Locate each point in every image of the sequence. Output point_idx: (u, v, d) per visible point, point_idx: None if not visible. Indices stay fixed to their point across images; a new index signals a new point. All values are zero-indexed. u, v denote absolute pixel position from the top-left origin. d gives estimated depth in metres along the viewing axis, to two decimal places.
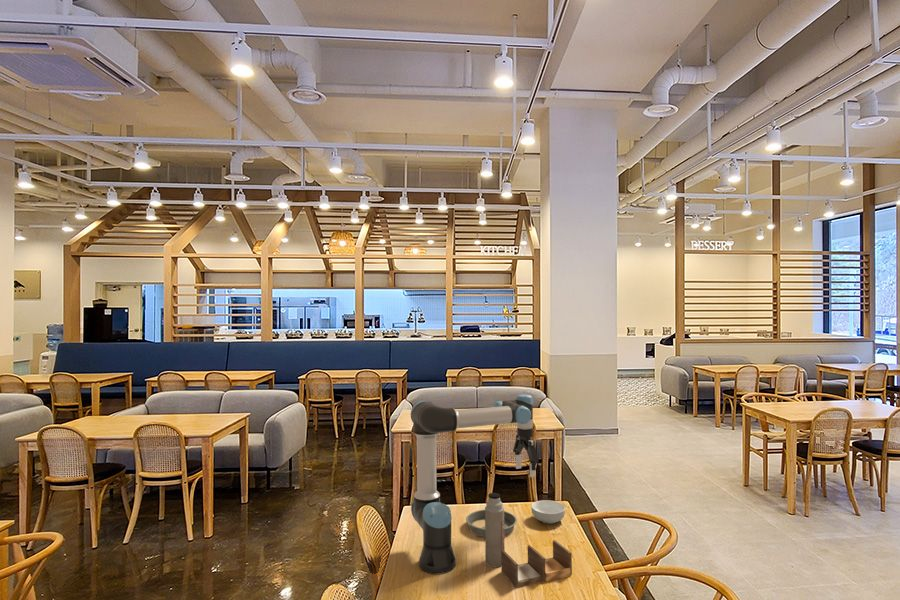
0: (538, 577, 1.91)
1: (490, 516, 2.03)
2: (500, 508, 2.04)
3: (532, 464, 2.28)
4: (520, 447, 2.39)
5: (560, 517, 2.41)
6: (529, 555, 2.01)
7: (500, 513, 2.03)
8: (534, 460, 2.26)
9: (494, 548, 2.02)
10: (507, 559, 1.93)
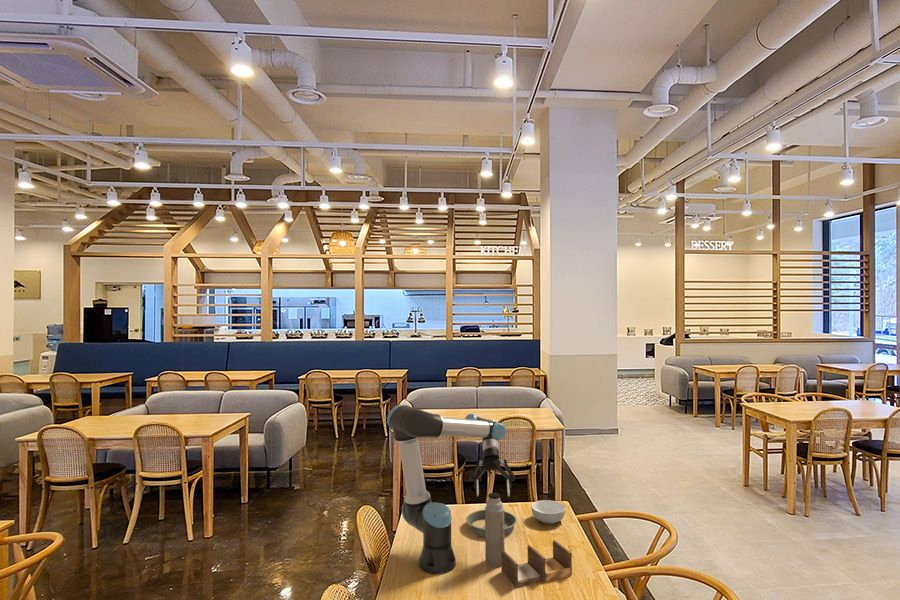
0: (538, 577, 1.91)
1: (490, 516, 2.03)
2: (500, 508, 2.04)
3: (510, 481, 2.21)
4: (483, 471, 2.25)
5: (560, 517, 2.41)
6: (529, 555, 2.01)
7: (500, 513, 2.03)
8: (514, 476, 2.23)
9: (494, 548, 2.02)
10: (507, 559, 1.93)
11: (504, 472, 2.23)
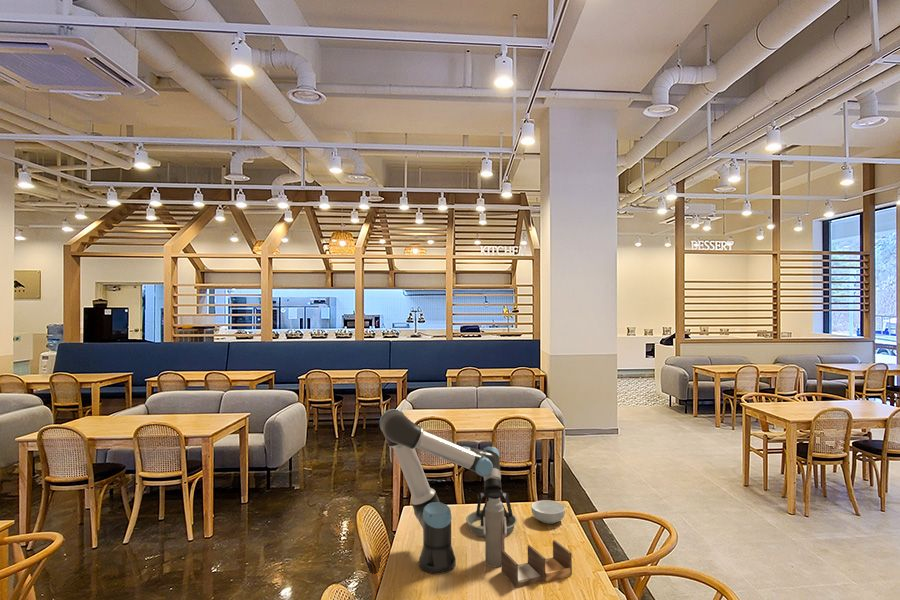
0: (538, 577, 1.91)
1: (490, 516, 2.03)
2: (500, 508, 2.04)
3: (507, 518, 2.07)
4: None
5: (560, 517, 2.41)
6: (529, 555, 2.01)
7: (500, 513, 2.03)
8: (511, 512, 2.08)
9: (494, 548, 2.02)
10: (507, 559, 1.93)
11: None
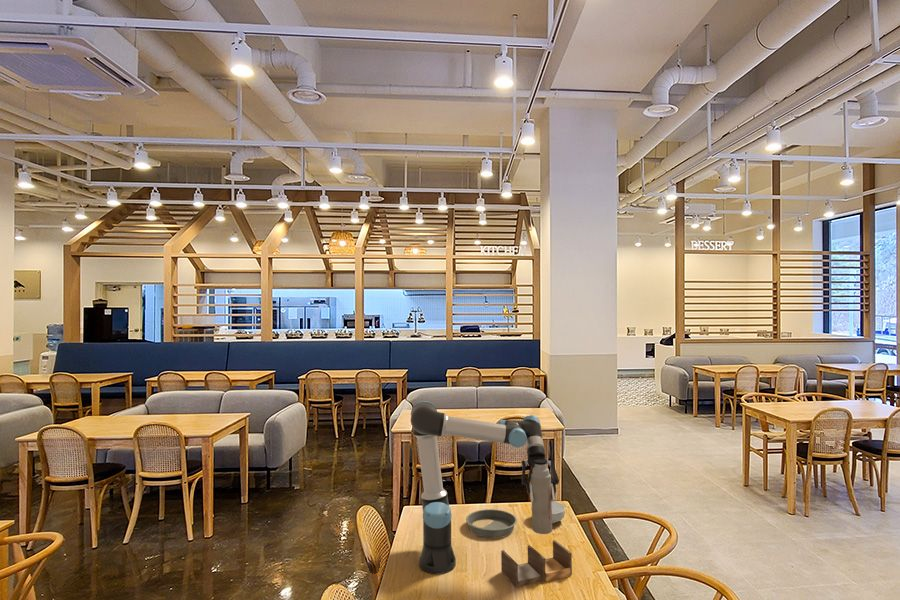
0: (538, 577, 1.91)
1: (538, 483, 1.98)
2: (547, 474, 2.00)
3: (554, 485, 2.02)
4: (532, 472, 2.07)
5: (560, 517, 2.41)
6: (529, 555, 2.01)
7: (547, 479, 1.99)
8: None
9: (542, 515, 1.98)
10: (507, 559, 1.93)
11: None
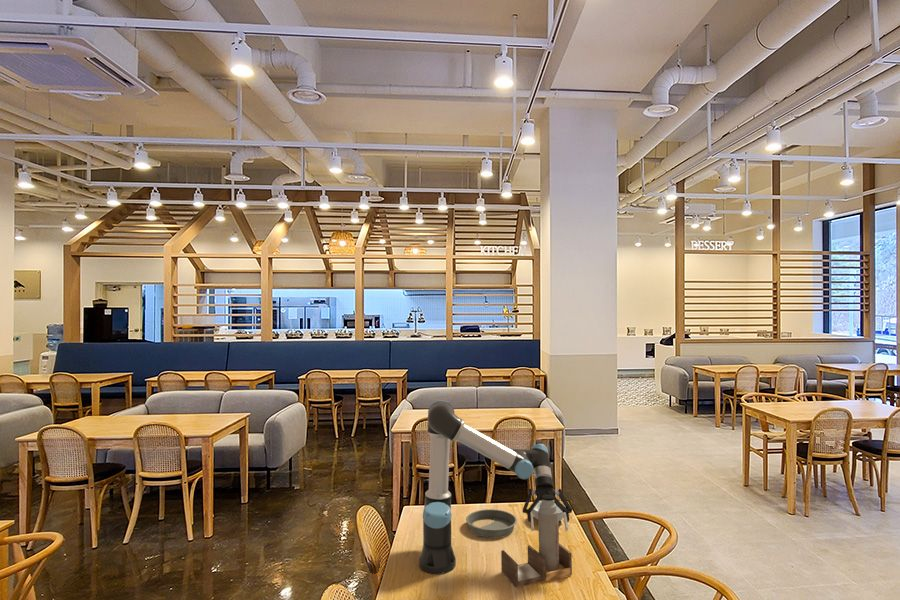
0: (538, 577, 1.91)
1: (545, 519, 1.96)
2: (555, 510, 1.97)
3: (567, 514, 2.01)
4: (537, 502, 2.05)
5: (560, 517, 2.41)
6: (529, 555, 2.01)
7: (555, 515, 1.96)
8: None
9: (549, 552, 1.95)
10: (507, 559, 1.93)
11: (560, 503, 2.03)
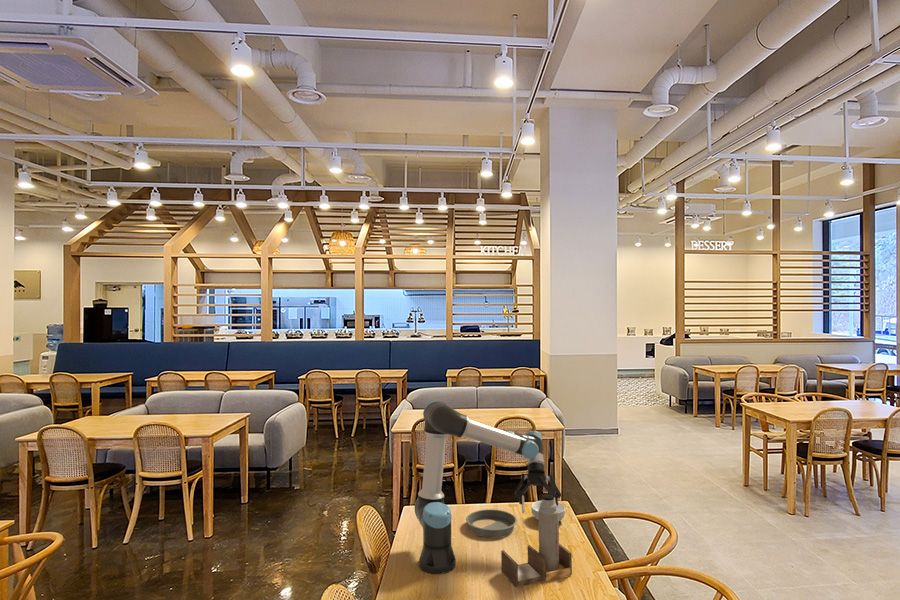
0: (538, 577, 1.91)
1: (545, 518, 1.96)
2: (555, 510, 1.98)
3: (556, 499, 2.15)
4: (529, 486, 2.18)
5: (560, 517, 2.41)
6: (529, 555, 2.01)
7: (555, 515, 1.97)
8: None
9: (549, 552, 1.95)
10: (507, 559, 1.93)
11: (550, 489, 2.17)
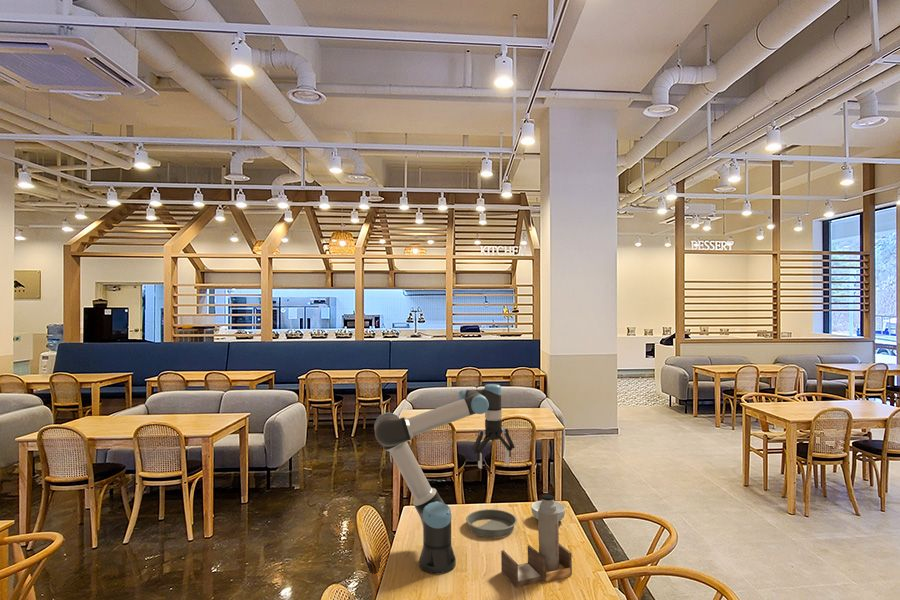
0: (538, 577, 1.91)
1: (545, 519, 1.96)
2: (554, 510, 1.98)
3: (509, 451, 2.26)
4: None
5: (560, 517, 2.41)
6: (529, 555, 2.01)
7: (555, 515, 1.97)
8: (513, 445, 2.26)
9: (549, 552, 1.95)
10: (507, 559, 1.93)
11: (505, 443, 2.25)
